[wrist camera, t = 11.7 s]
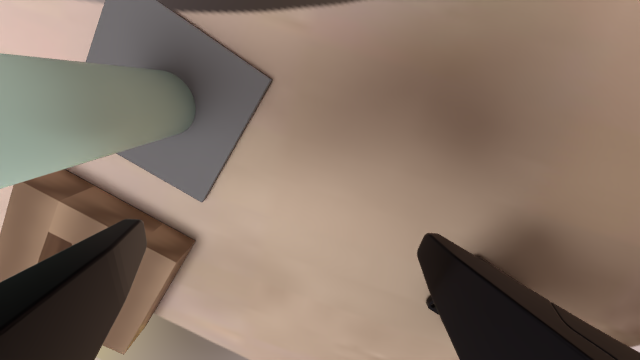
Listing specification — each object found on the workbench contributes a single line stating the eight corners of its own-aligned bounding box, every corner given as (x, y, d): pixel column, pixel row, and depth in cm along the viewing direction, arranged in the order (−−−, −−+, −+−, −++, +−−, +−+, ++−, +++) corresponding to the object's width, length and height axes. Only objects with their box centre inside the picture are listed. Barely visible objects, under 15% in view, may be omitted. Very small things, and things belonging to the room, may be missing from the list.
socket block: (195, 240, 23) (176, 262, 20) (145, 325, 26) (123, 354, 23) (58, 166, 21) (15, 178, 18) (24, 268, 24) (-16, 292, 21)
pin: (208, 117, 19) (-28, 174, 6) (160, 145, 19) (-130, 245, 7) (168, 57, 17) (-219, -17, 5) (119, 90, 18) (-317, 95, 6)
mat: (272, 79, 18) (270, 79, 18) (204, 199, 21) (201, 202, 21) (120, -25, 16) (114, -29, 16) (72, 123, 20) (65, 124, 19)
